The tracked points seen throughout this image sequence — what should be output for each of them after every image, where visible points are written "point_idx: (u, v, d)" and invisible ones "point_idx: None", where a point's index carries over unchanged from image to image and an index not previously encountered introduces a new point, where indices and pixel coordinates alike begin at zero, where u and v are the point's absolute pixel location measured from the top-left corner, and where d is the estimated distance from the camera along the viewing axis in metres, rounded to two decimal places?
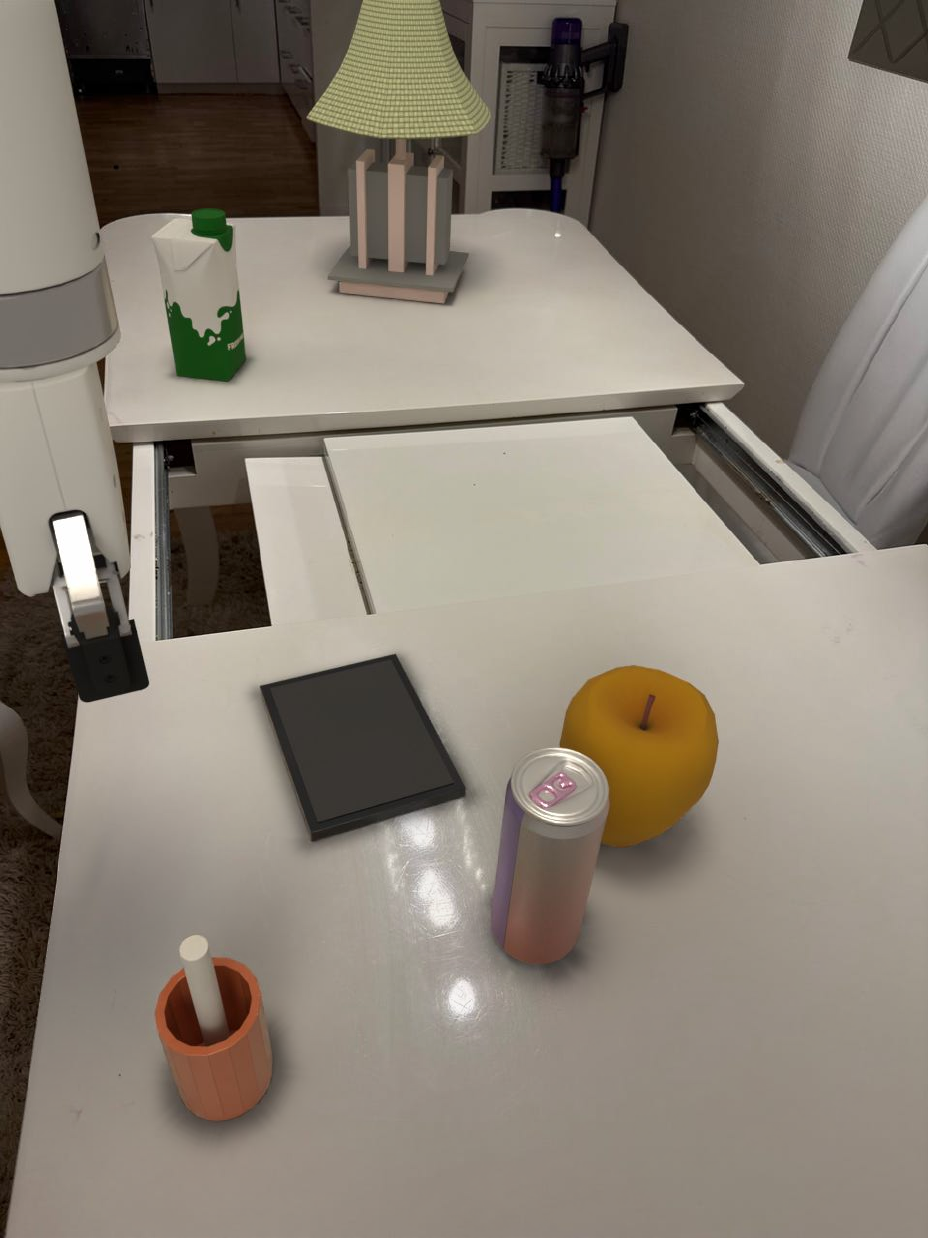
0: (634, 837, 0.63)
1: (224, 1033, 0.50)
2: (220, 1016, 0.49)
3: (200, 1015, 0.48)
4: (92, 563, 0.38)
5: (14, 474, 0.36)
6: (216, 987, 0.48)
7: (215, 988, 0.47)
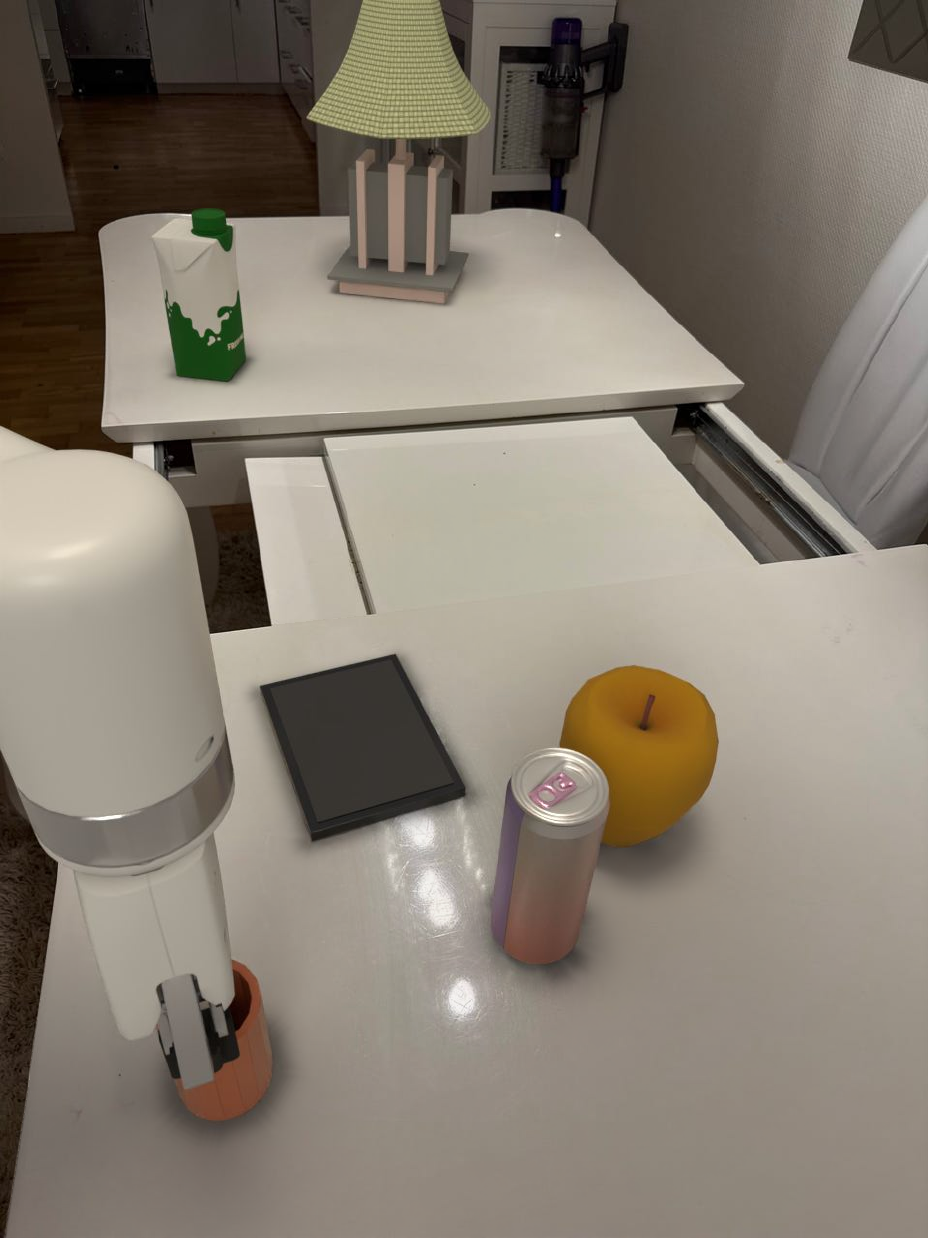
0: (634, 837, 0.63)
1: None
2: None
3: None
4: (203, 1037, 0.37)
5: (124, 959, 0.34)
6: None
7: None
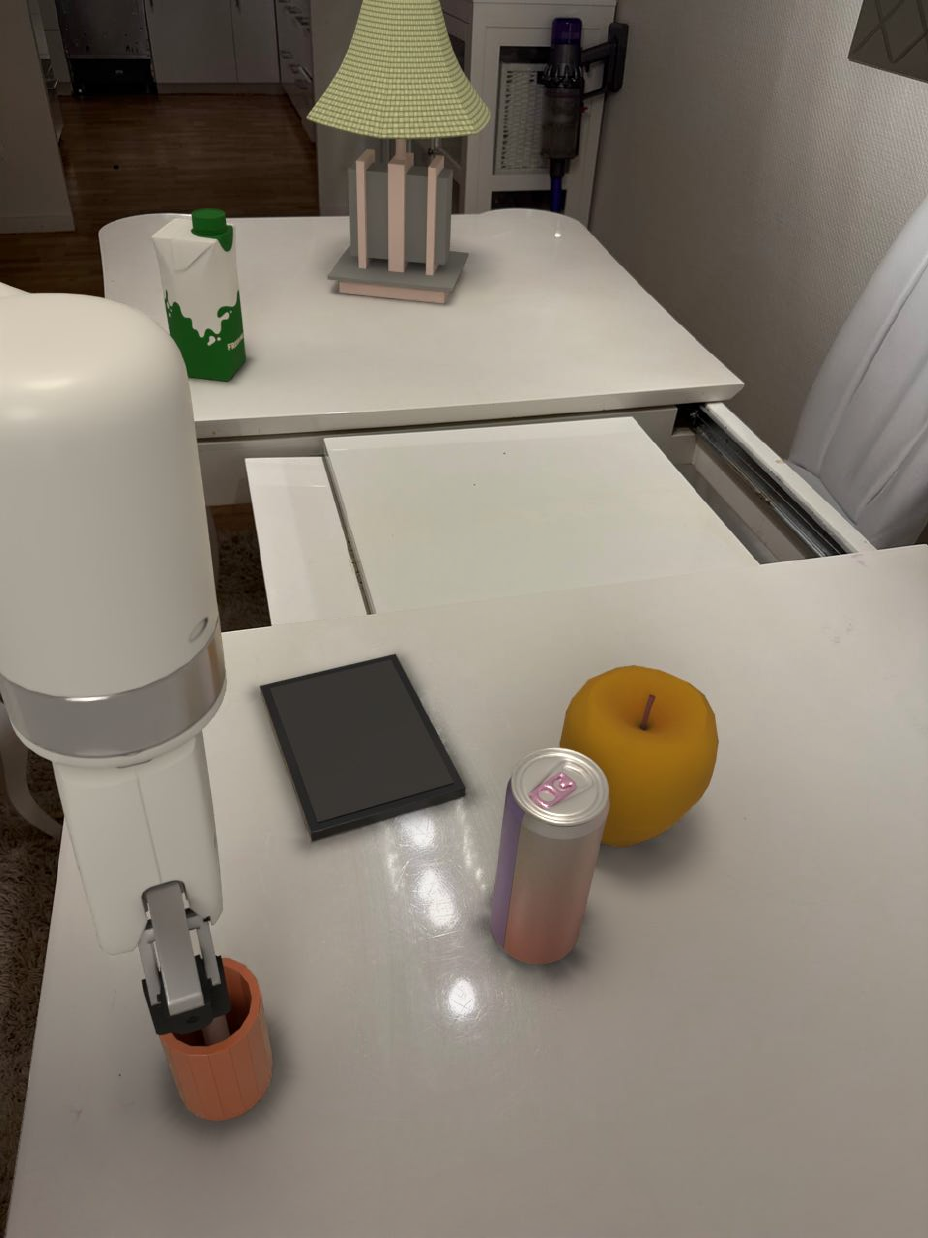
0: (634, 837, 0.63)
1: None
2: None
3: None
4: (190, 947, 0.33)
5: (108, 860, 0.32)
6: None
7: None
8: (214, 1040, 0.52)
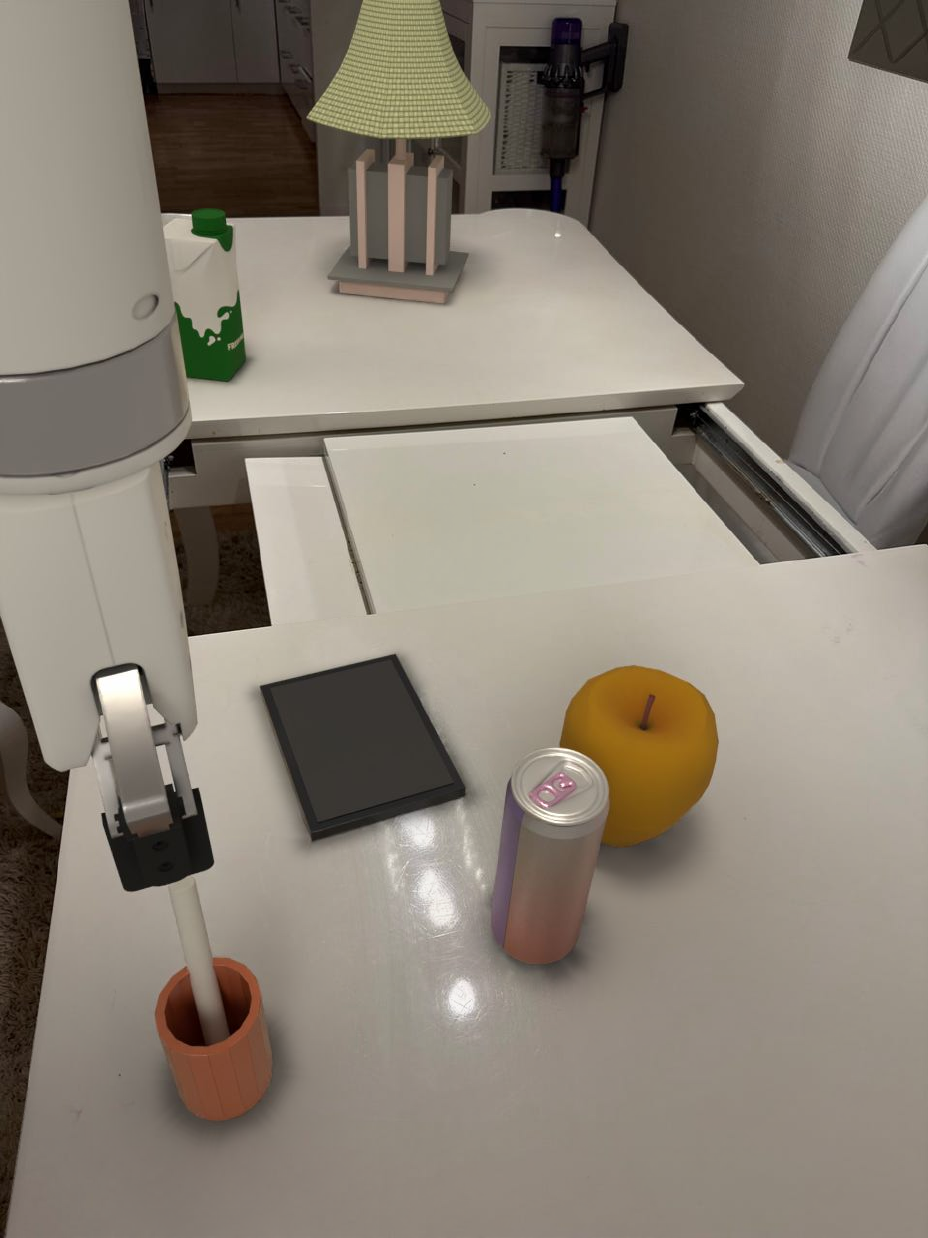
0: (634, 837, 0.63)
1: (218, 1006, 0.51)
2: (212, 979, 0.51)
3: (192, 973, 0.50)
4: (151, 742, 0.27)
5: (43, 623, 0.25)
6: (206, 938, 0.50)
7: (204, 938, 0.50)
8: (214, 1040, 0.52)
